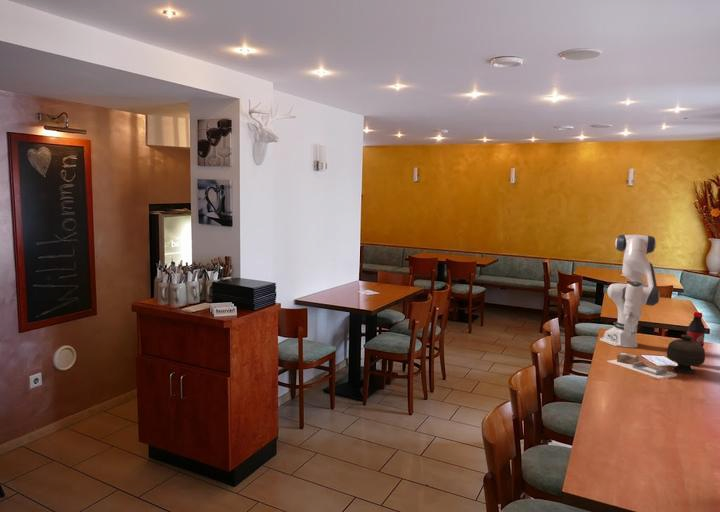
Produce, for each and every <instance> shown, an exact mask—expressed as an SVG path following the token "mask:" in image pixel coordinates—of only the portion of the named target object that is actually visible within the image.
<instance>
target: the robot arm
mask: <svg viewBox="0 0 720 512" xmlns="http://www.w3.org/2000/svg"><path fill="white" fill-rule="evenodd" d="M614 246H615V248H616V250H617V251H618V252H624V254H623V258H622V268H621V273H622V276H624V277H625V278H627V279H628V280H630V281H628V282H627V283H621V282H616V283H611V284H610V285H609V286H608V288H607V291H606V292H607V296H608V297H609V299H611V300H612V301H613V303H615V305H616V307H617V308H616V310H617V321H614V322H613V325H614V326H613V327H611V328H609V329H607V330H605V332H604V335H603V336H602V337H600V338H599V341H600V342H604V343H606V344H609V345H612V346H615V347H618V348H619V347H621V348H633V349H634V348H638V341H637V340H638V339H637V332H638V325H639V321H640V317H641V316H642V310H643V306H642V305H645V306H650V307H653V306H655V305H657V304H658V303H659V302H660V292H659V289H658V286H657V280H656V275H655V270H654V266H653V263H652V262H650V261H649V260H648V257H647V255H649V254H651V253H653V252H655V249H656V247H657V241H656V238H655V237H654V236H652V235H643V234H618V235H617V237H616V239H615V241H614ZM643 276H645V278H646V280H647V281H645V279H644V277H643ZM646 282H647V283H646Z"/></svg>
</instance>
